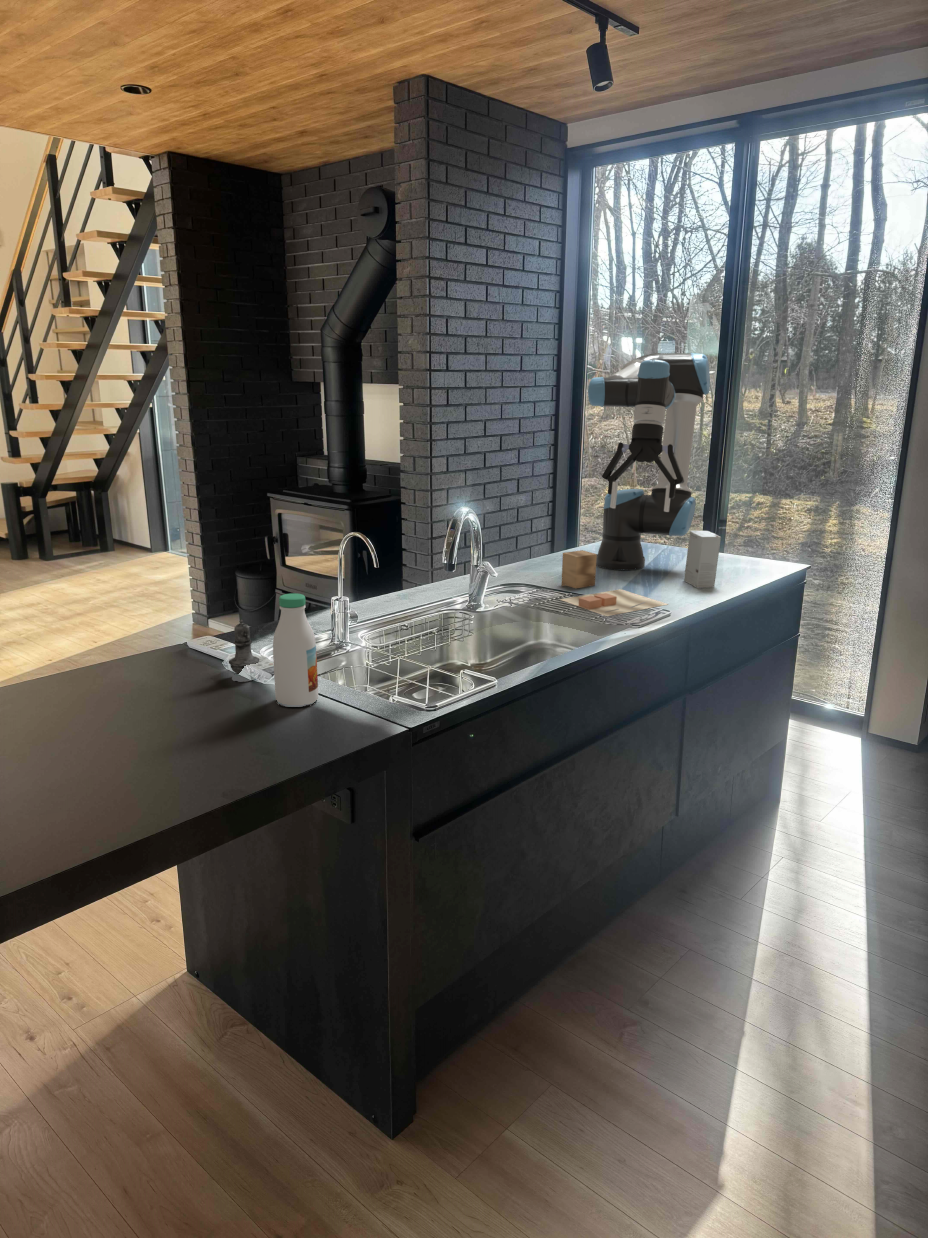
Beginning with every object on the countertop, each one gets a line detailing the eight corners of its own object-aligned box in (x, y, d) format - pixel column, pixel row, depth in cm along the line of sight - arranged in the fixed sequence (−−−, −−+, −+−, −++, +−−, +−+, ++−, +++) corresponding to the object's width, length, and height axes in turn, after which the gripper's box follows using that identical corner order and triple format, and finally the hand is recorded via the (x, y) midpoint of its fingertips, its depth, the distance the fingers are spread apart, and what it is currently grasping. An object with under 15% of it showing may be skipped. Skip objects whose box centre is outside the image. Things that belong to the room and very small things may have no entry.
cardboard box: (580, 584, 245) (582, 550, 242) (594, 589, 240) (596, 554, 237) (561, 588, 241) (562, 552, 238) (575, 592, 236) (576, 556, 233)
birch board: (620, 593, 236) (620, 588, 235) (668, 608, 221) (668, 604, 221) (559, 603, 225) (559, 599, 224) (606, 620, 210) (606, 616, 210)
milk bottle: (298, 712, 154) (293, 603, 148) (266, 703, 158) (260, 597, 152) (327, 699, 160) (323, 594, 154) (296, 690, 164) (290, 588, 158)
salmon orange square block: (590, 603, 221) (591, 595, 221) (601, 606, 218) (601, 599, 217) (578, 605, 219) (579, 597, 218) (589, 609, 216) (589, 601, 215)
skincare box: (683, 581, 249) (687, 530, 245) (702, 580, 251) (707, 529, 246) (696, 588, 242) (701, 535, 237) (716, 587, 243) (721, 535, 239)
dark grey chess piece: (233, 684, 167) (229, 625, 163) (226, 675, 172) (222, 617, 168) (263, 680, 169) (260, 621, 166) (256, 670, 174) (252, 613, 171)
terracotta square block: (605, 600, 224) (606, 593, 223) (616, 604, 220) (616, 596, 220) (593, 602, 222) (594, 595, 221) (604, 606, 218) (604, 598, 218)
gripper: (595, 420, 218) (587, 505, 220) (696, 423, 208) (687, 511, 210) (603, 425, 225) (594, 507, 227) (701, 428, 215) (691, 514, 217)
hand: (639, 509), depth 218 cm, fingers open, 13 cm apart
